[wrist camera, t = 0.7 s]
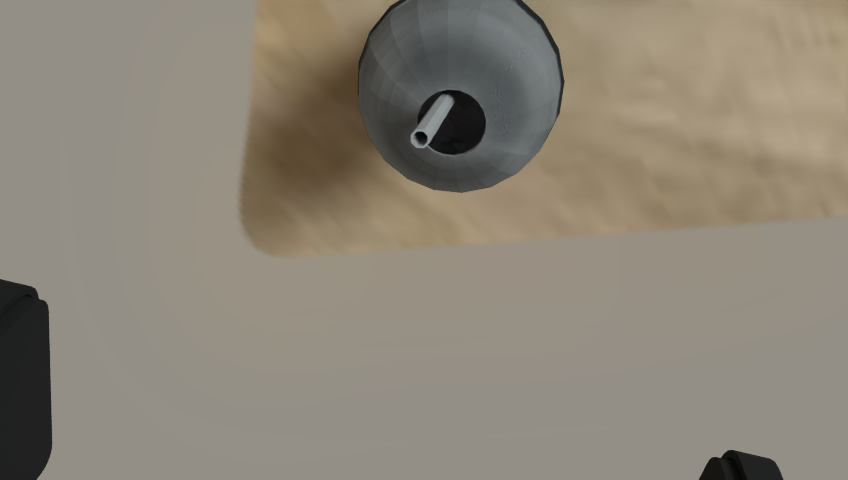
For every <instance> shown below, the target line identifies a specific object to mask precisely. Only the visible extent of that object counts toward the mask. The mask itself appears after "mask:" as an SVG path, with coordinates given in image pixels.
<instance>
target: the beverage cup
mask: <svg viewBox="0 0 848 480" xmlns="http://www.w3.org/2000/svg"><path fill="white" fill-rule="evenodd" d="M563 87H564V77H563V71H562V65H561V59H560V53H559V49H558V47H557V45H556V43H555V41H554V40H553V38H552V36H551V34H550V32H549V30H548V29H547V27H546V25H545V23H544V21H543V20H542V19H541V18H540V17H539V16H538V15H537V14H536V13H535V12H534V11H533V10H531V9H530V8H529V7H528V6H527V5H526V4H525V3H524V2H523V1H522V0H399V1H398V2H396V3H395V4H393V5H391V6H390V7H389V9H388V10H387V11H386V12H385V14H384V15H383V16H382V17H381V19H380V20H379V21H378V22H377V24H376V25H375V26H374V27H373V29H372V30H371V31H370V33H369V35H368V38H367V41H366V44H365V46H364V49H363V52H362V55H361V57H360V60H359V72H358V97H359V107H360V111H361V114H362V117H363V121H364V124H365V128H366V131H367V135H368V136H369V138H370V139H371V141H372V142H373V144H374V145H375V147H376V148H377V150H378V151H379V153H380V154H381V156H382V157H383V159H384V160H385V161H386V162H387V163H389V164H390V165H391V166H392V167H394V168H395V169H396V170H397V171H399V172H400V173H401V174H402V175H403V176H405V177H406V178H407V179H409V180H411V181H414V182H416V183H419V184H421V185H423V186H426V187H428V188H431V189H433V190H441V191H450V192H460V193H462V192H468V191H473V190H478V189H484V188H489V187H492V186H494V185H496V184H497V183H499V182H501V181H503V180H505V179H507V178H509V177H511V176H513V175H515V174H517V173H518V172H519V171H520V170H521V169H522V168H523V167H524V166H525V165H526V164H527V163H528V162H529V161H530V160H531V159H532V158H533V157H534V156H535V155H536V154H537V153H538V152H539V151H540V149H541V148H542V146H543V144H544V142H545V141H546V139H547V137H548V135H549V133H550V131H551V129H552V127H553V125H554V123H555V121H556V119H557V117H558V115H559V113H560V107H561V100H562V94H563Z"/></svg>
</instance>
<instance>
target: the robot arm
mask: <svg viewBox="0 0 848 480" xmlns="http://www.w3.org/2000/svg"><path fill="white" fill-rule="evenodd" d="M49 346H50V345H49V310H48V305H47V303H46V302H45V301H43V300H40V299H39V298H38V293H37V291H36V289H35V288H33V287H31V286H27V285H23V284H18V283H14V282H10V281H6V280H1V279H0V480H37V478H38V477H39V476H40V474H41V473H42V471H43V470H44V468H45V466H46V464H47V462H48V460H49V457H50V454H51V449H52V423H51V422H52V420H51V384H50V383H51V382H50V347H49ZM699 480H783V478H782V475H781V473H780V470H779V468H778V466H777V465H776V463H775V462H774V461H772V460H771V459H769V458H765V457H760V456H756V455H751V454H747V453H743V452H738V451H734V450H728V451H727V452H726V453H724V454H723V456H722V457H721V458H718V457H713V458H711V459H710V460H709V462H708V463H707V465H706V467H705V469H704V471H703V473H702V475H701V477H700V479H699Z"/></svg>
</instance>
